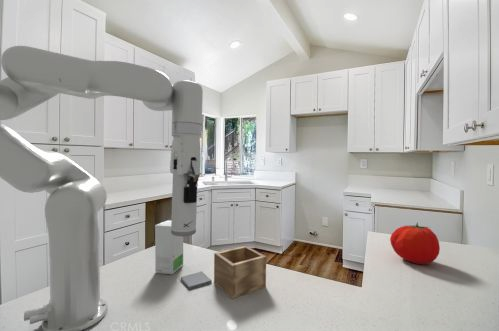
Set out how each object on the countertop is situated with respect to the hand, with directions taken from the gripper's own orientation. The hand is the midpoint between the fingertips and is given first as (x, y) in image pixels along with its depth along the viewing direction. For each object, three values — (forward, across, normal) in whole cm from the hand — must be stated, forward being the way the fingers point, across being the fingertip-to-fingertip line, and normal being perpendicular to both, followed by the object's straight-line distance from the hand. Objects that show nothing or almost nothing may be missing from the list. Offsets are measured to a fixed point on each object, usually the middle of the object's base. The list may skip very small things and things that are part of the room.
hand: (184, 199), depth 66 cm
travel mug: (+9, 0, 0) cm, 9 cm away
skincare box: (+27, -21, +3) cm, 34 cm away
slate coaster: (+27, -8, +7) cm, 28 cm away
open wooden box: (+26, +1, +17) cm, 31 cm away
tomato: (+25, +22, +80) cm, 87 cm away
